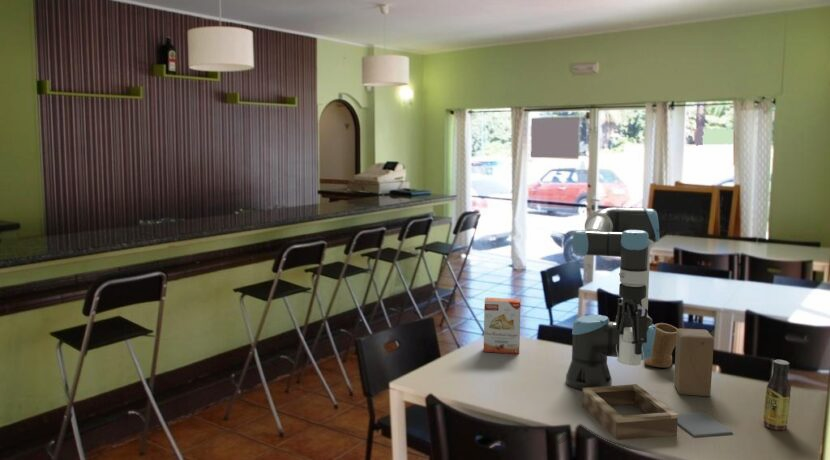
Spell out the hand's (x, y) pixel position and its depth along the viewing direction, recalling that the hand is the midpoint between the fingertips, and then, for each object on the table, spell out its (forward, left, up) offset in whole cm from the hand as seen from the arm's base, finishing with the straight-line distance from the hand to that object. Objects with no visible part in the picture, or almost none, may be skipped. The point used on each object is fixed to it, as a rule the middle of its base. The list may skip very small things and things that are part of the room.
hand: (629, 359), depth 200 cm
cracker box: (-69, -18, -19) cm, 74 cm away
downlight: (0, 0, -1) cm, 1 cm away
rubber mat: (+7, +19, -19) cm, 27 cm away
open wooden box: (0, 0, -19) cm, 19 cm away
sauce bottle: (+12, +40, -19) cm, 46 cm away
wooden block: (-18, +32, -19) cm, 41 cm away
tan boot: (-45, +36, -19) cm, 60 cm away
